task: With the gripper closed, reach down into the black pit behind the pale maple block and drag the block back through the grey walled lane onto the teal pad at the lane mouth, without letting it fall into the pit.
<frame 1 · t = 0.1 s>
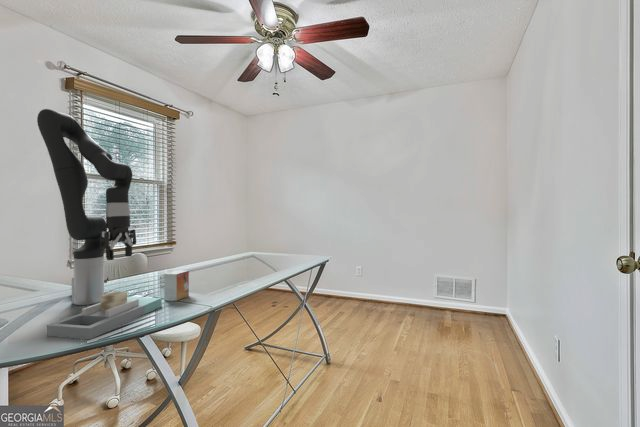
hand: (119, 258, 115), 17 cm above the table, tool pointing down, fingers open, 8 cm apart
figurine: (90, 293, 131), on the table
small box: (176, 298, 122), on the table
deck: (111, 319, 98), on the table
block: (114, 308, 99), point 3 cm above the table, touching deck
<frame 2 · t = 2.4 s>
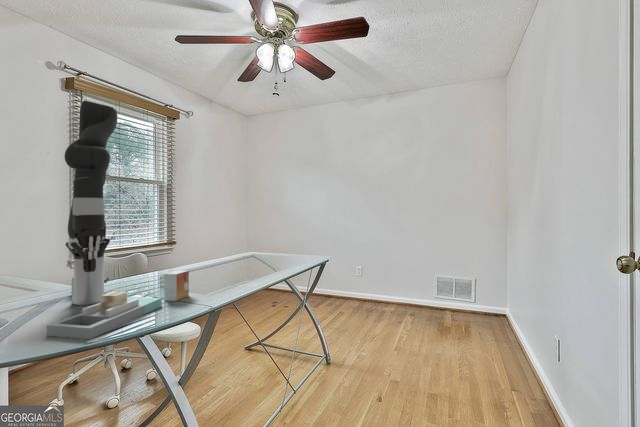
hand: (89, 271, 91), 17 cm above the table, tool pointing down, fingers closed
nothing on the table moved.
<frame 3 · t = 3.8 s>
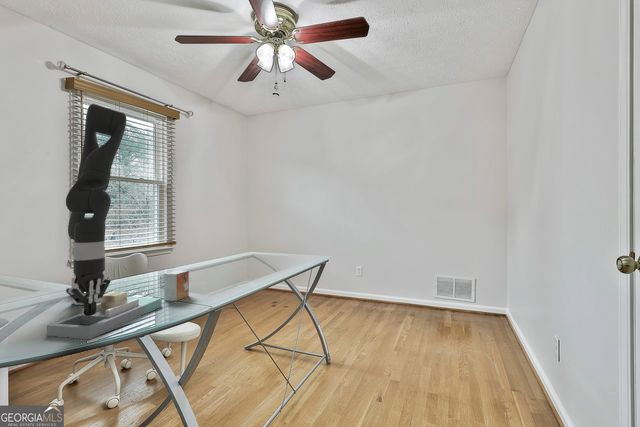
hand: (89, 314, 91), 4 cm above the table, tool pointing down, fingers closed
nothing on the table moved.
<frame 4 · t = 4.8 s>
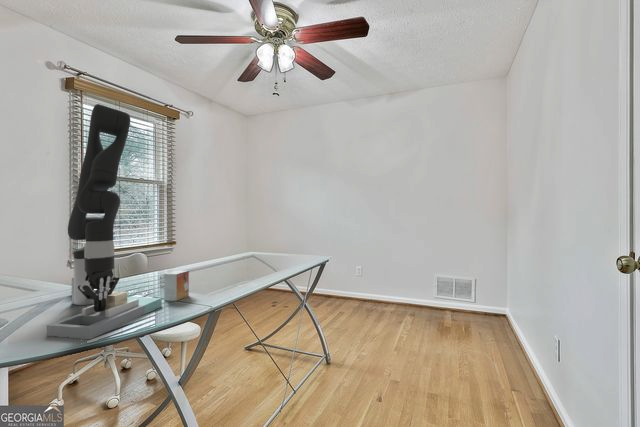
hand: (99, 311, 94), 4 cm above the table, tool pointing down, fingers closed
block: (114, 308, 100), point 3 cm above the table, touching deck, gripper
everything else where it was.
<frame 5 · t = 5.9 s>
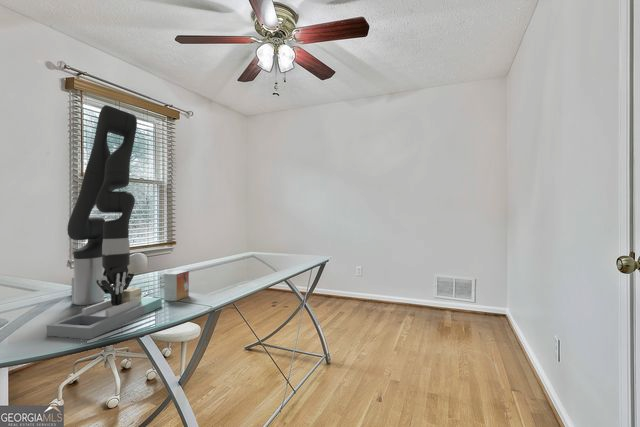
hand: (116, 305, 100), 4 cm above the table, tool pointing down, fingers closed
block: (129, 303, 105), point 3 cm above the table, touching gripper
everything else where it was.
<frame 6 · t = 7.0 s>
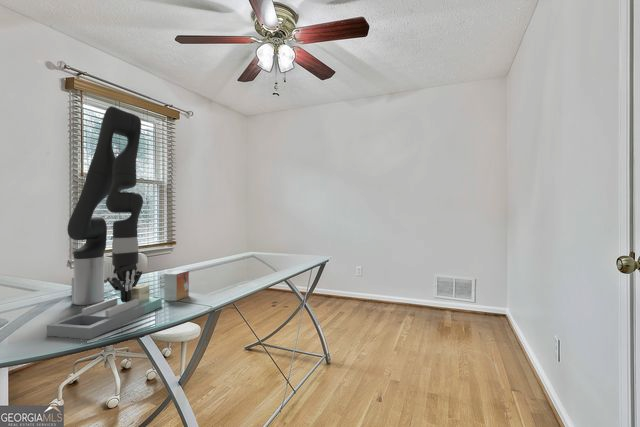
hand: (125, 301, 104), 4 cm above the table, tool pointing down, fingers closed
block: (138, 300, 109), point 3 cm above the table, touching gripper
everything else where it was.
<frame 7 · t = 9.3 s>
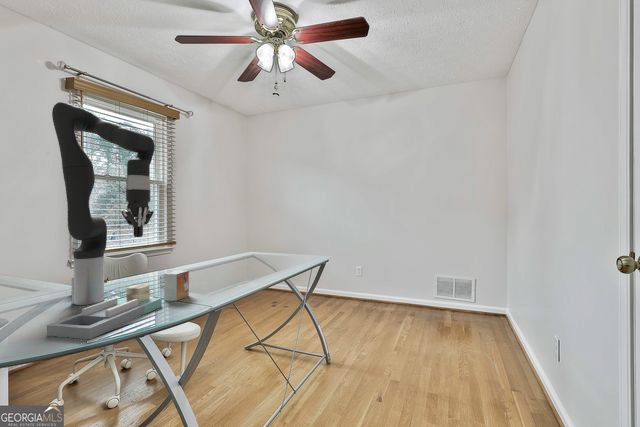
hand: (138, 236, 110), 26 cm above the table, tool pointing down, fingers closed
block: (138, 300, 109), point 3 cm above the table, touching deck
everything else where it was.
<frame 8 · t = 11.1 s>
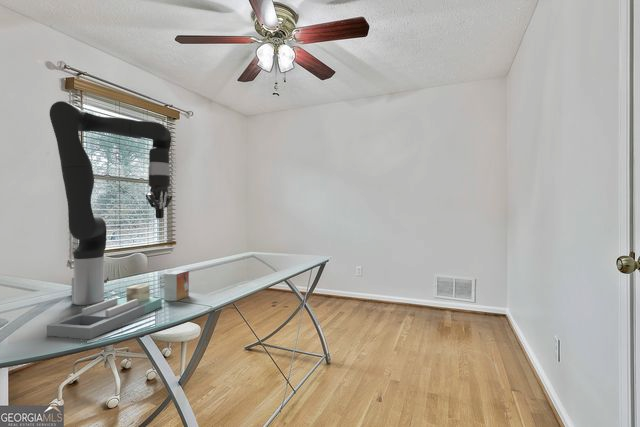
hand: (159, 218, 121), 32 cm above the table, tool pointing down, fingers closed
nothing on the table moved.
at the end: block inside the target area (0.9 cm from its centre), point 3.0 cm above the table; block tilted 0° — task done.
